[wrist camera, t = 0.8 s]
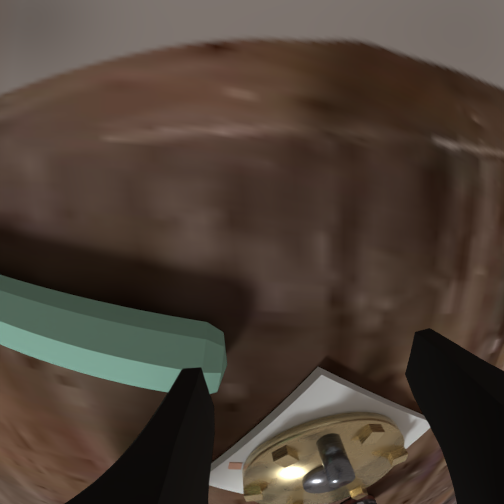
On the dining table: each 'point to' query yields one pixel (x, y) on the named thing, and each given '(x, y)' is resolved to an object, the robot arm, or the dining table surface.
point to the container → (108, 337)
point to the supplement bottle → (361, 500)
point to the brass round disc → (324, 460)
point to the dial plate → (307, 409)
